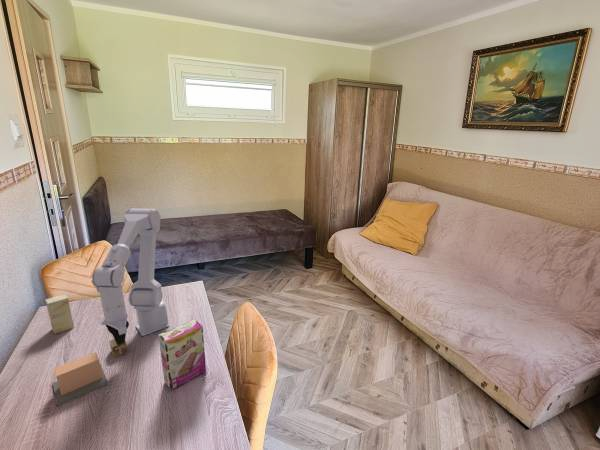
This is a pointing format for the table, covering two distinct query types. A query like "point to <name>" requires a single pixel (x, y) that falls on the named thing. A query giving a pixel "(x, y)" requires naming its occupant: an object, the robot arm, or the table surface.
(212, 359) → the table surface
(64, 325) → the skincare box
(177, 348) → the candy bar box
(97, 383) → the mat
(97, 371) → the block
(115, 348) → the brown cube
